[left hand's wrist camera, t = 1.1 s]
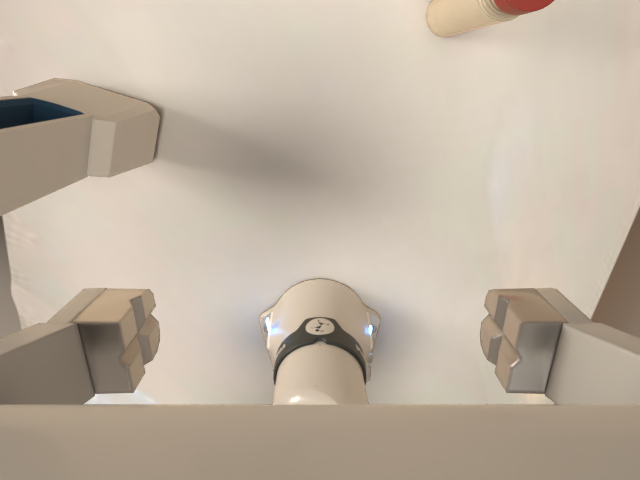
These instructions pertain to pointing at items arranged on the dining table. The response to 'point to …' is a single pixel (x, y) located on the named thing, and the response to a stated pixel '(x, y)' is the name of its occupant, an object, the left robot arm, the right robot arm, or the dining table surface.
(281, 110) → the dining table surface
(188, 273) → the dining table surface
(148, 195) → the dining table surface
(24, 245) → the dining table surface
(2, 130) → the electronic device
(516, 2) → the cap
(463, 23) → the bottle
